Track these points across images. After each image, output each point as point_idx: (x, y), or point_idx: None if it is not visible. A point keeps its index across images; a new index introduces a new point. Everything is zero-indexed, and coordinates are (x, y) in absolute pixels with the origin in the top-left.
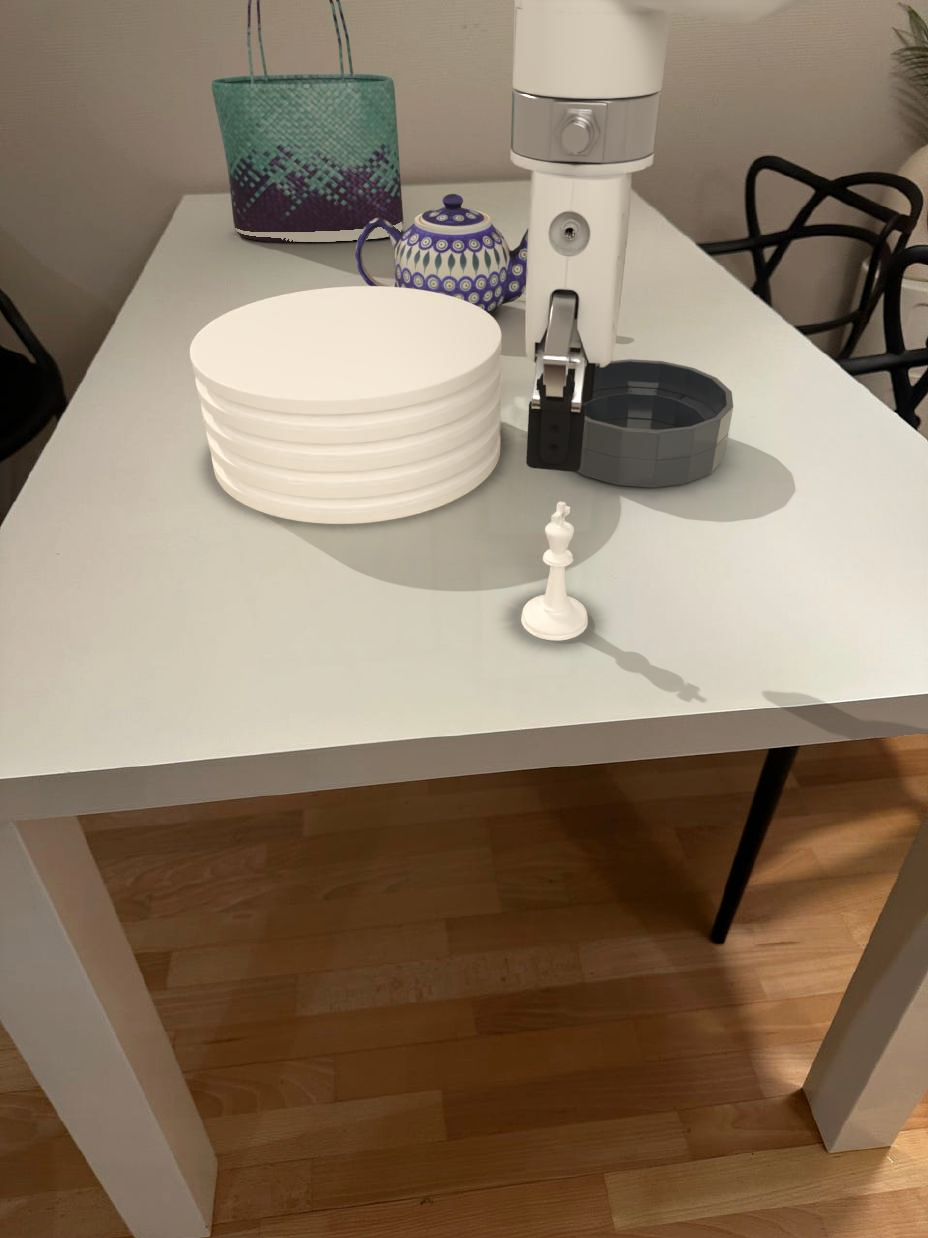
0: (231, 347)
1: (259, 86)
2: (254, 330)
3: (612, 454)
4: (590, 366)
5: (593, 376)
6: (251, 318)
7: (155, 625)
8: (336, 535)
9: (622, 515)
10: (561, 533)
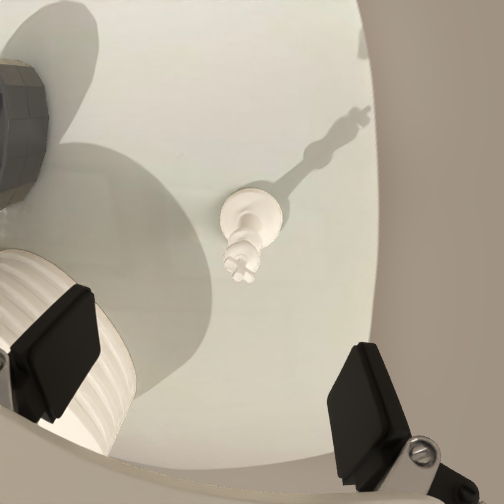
0: None
1: None
2: None
3: (24, 161)
4: (55, 334)
5: (63, 313)
6: None
7: (251, 434)
8: (146, 367)
9: (82, 143)
10: (257, 261)
